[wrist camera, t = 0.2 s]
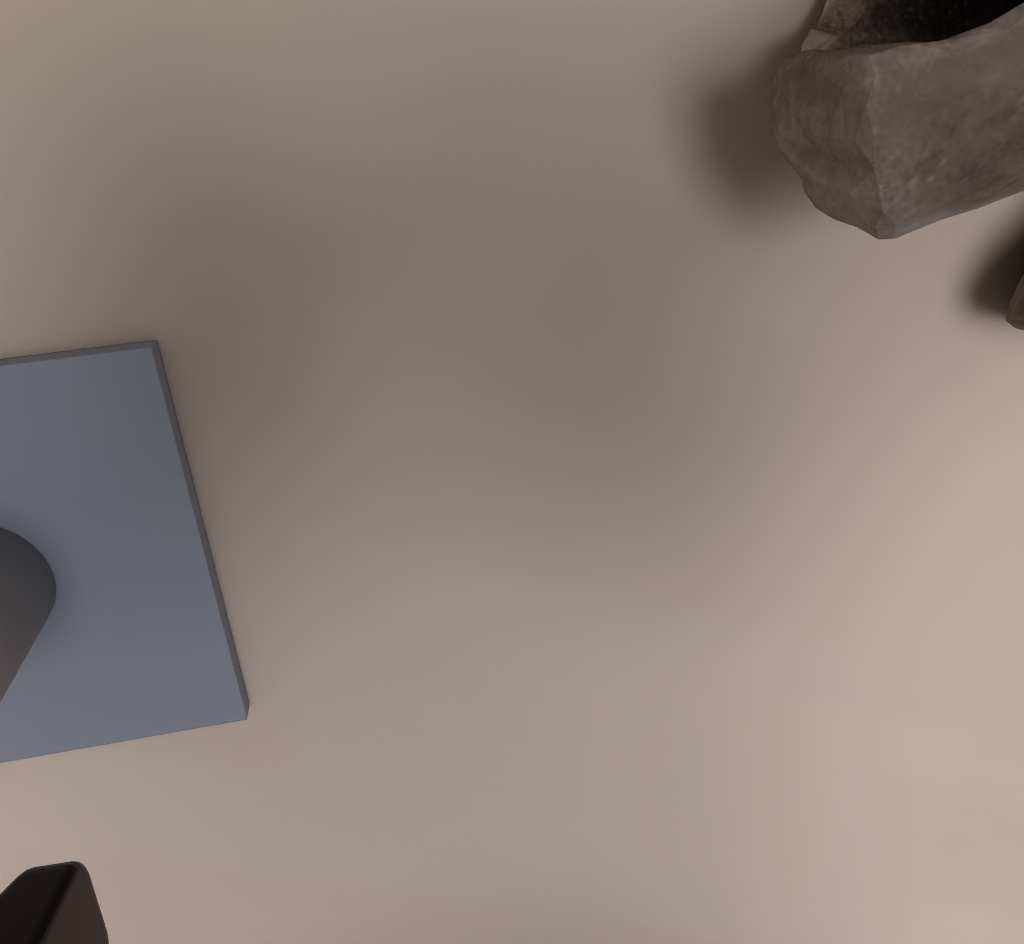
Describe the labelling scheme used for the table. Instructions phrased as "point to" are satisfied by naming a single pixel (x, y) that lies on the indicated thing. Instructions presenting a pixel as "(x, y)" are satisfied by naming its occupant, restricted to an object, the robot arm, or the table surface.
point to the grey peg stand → (103, 560)
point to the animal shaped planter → (906, 112)
